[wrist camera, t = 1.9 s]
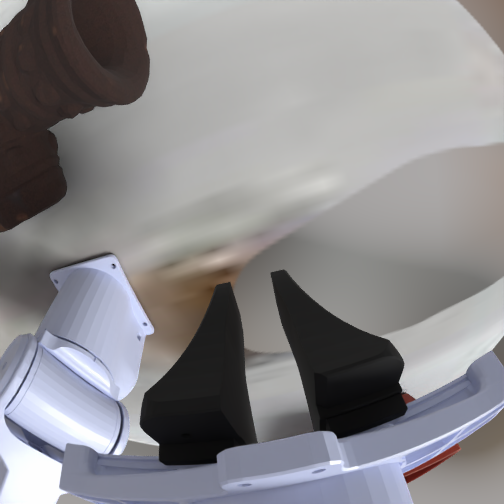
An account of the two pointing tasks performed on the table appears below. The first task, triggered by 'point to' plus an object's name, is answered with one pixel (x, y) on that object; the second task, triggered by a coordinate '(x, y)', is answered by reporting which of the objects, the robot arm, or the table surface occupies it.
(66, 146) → the table surface
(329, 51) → the table surface
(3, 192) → the dark brown rounded piece
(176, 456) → the robot arm
